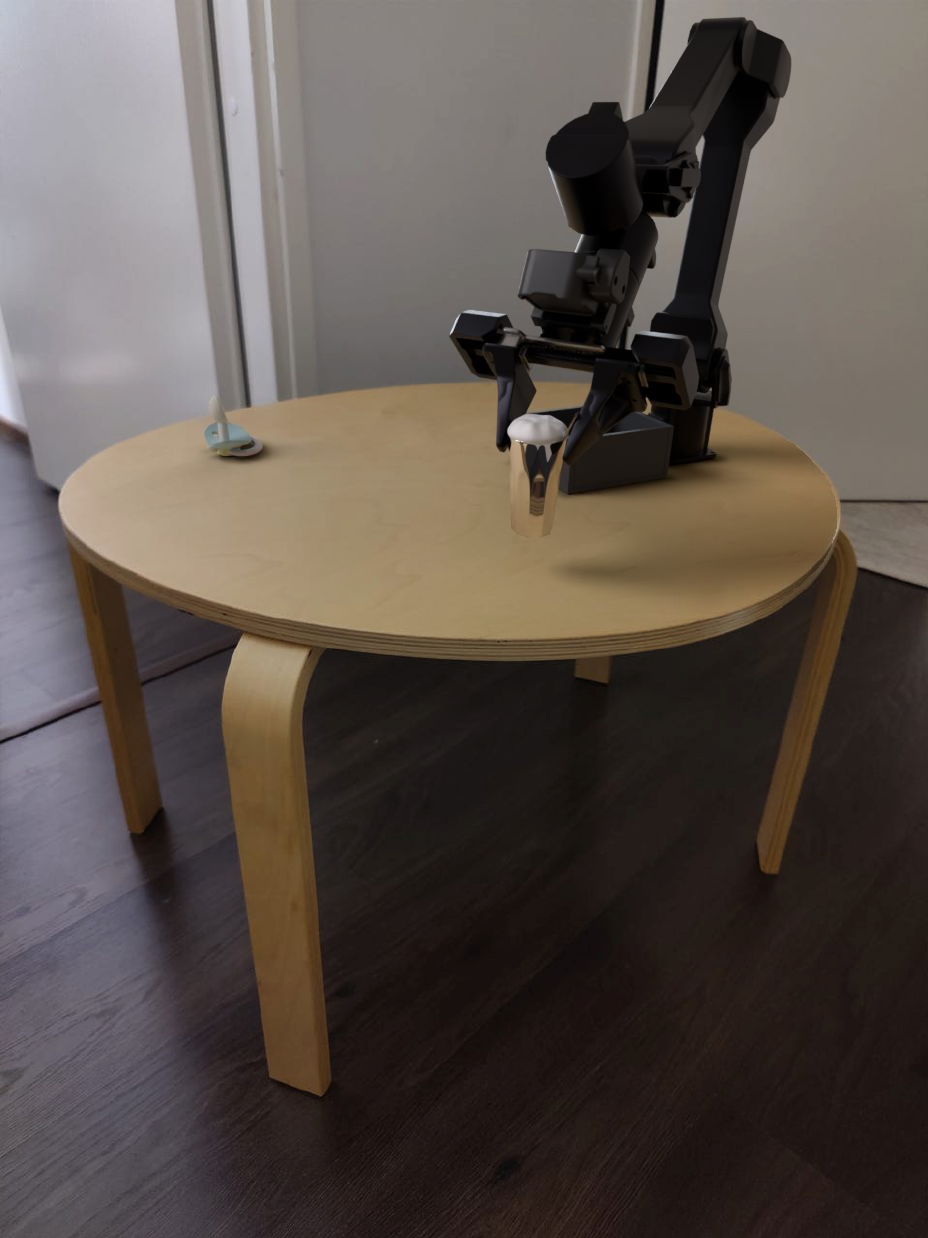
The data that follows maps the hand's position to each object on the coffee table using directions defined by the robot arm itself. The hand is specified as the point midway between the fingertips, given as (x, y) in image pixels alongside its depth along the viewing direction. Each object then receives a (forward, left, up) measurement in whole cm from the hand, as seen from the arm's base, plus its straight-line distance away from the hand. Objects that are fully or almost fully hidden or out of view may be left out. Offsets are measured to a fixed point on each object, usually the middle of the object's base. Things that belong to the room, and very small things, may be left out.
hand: (531, 455), depth 64 cm
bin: (-19, -20, -10) cm, 29 cm away
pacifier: (+14, -41, -10) cm, 44 cm away
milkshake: (-1, -1, -7) cm, 7 cm away
